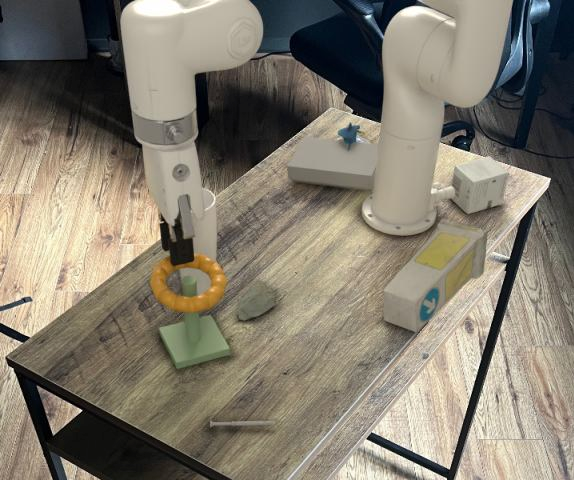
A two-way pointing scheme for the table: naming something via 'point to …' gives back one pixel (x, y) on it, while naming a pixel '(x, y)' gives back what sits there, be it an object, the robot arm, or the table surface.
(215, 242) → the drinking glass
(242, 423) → the wall anchor
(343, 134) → the toy figurine
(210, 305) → the ring
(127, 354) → the table surface
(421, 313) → the toppled traffic bollard
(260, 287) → the rock
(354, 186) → the flat grey box
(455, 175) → the product carton
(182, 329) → the rack
